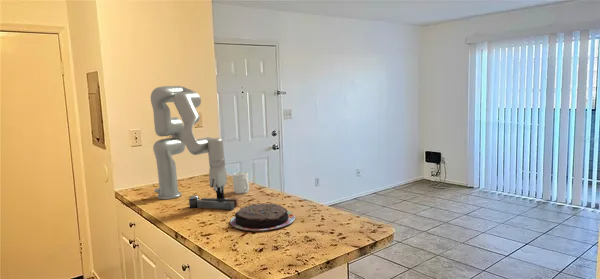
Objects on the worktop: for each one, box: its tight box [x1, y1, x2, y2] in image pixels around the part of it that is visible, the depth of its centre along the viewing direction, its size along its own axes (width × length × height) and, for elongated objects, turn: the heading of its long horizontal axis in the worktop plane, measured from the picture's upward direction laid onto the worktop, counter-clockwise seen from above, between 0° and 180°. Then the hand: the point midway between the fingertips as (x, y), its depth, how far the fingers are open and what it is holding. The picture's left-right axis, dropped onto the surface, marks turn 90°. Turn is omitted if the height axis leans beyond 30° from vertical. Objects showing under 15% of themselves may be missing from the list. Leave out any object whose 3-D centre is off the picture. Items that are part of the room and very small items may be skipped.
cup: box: [232, 171, 250, 194], centre depth 222 cm, size 8×12×10 cm
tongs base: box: [188, 197, 235, 211], centre depth 197 cm, size 24×6×4 cm, turn 73°
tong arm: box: [189, 194, 240, 207], centre depth 198 cm, size 24×5×5 cm, turn 78°
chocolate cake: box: [229, 202, 296, 233], centre depth 174 cm, size 28×28×7 cm
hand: (220, 199), depth 201 cm, fingers closed
